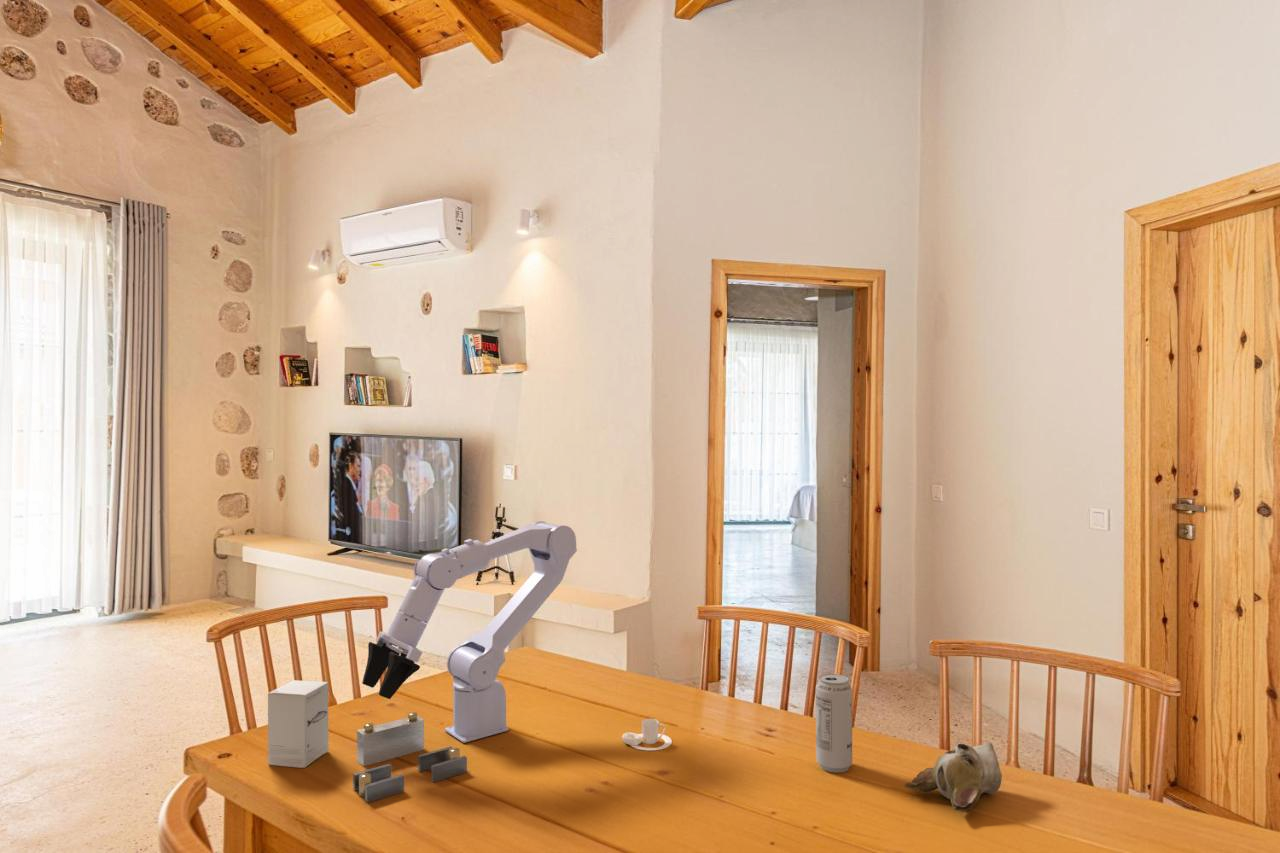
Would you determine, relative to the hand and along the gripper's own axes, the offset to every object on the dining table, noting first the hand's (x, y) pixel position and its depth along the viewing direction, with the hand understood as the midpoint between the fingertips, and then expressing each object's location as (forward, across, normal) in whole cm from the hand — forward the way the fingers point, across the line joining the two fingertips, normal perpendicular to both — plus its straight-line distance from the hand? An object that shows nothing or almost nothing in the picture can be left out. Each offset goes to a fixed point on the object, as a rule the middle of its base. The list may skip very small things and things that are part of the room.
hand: (375, 691), depth 143 cm
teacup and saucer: (-10, +22, +42) cm, 49 cm away
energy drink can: (-19, +53, +57) cm, 80 cm away
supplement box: (+16, -9, -3) cm, 18 cm away
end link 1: (+12, +12, +2) cm, 17 cm away
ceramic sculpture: (-22, +73, +62) cm, 98 cm away
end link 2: (+7, +12, +12) cm, 18 cm away
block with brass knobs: (+9, 0, +8) cm, 12 cm away
